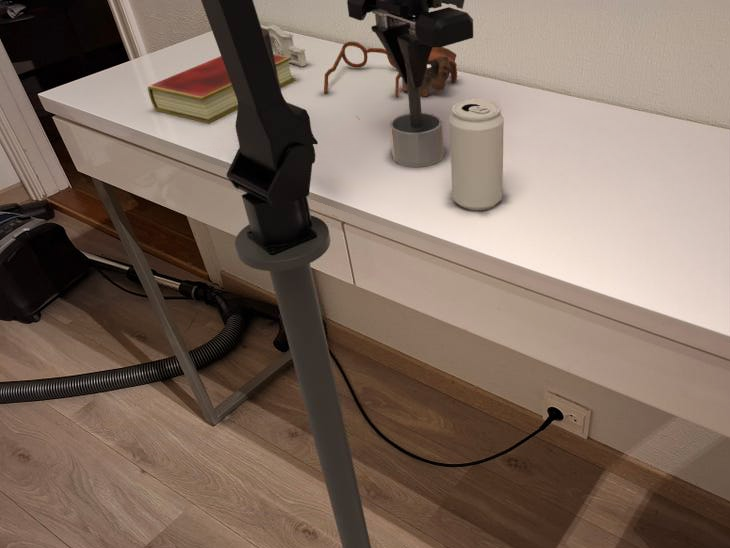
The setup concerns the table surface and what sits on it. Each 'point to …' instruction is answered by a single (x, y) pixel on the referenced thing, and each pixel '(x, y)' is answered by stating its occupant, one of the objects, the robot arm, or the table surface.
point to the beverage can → (476, 153)
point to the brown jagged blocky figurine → (438, 70)
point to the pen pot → (417, 141)
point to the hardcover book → (205, 90)
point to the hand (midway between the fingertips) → (413, 85)
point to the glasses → (342, 55)
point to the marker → (414, 103)
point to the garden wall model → (285, 45)
